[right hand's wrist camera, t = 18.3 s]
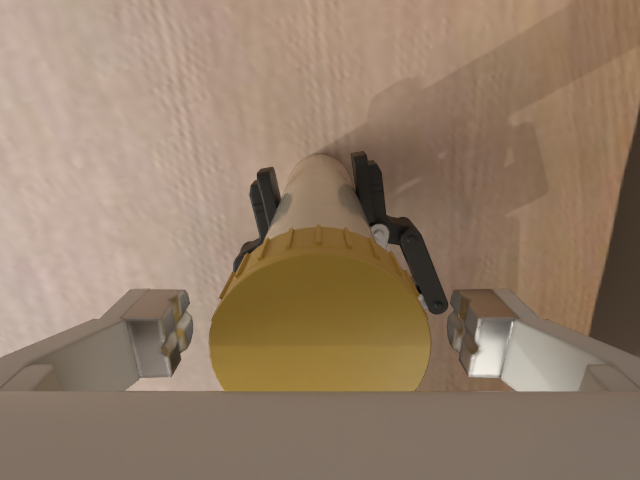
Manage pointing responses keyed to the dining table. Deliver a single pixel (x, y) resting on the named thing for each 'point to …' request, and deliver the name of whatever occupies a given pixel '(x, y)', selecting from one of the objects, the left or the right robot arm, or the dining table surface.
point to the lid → (320, 318)
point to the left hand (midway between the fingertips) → (311, 163)
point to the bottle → (319, 199)
